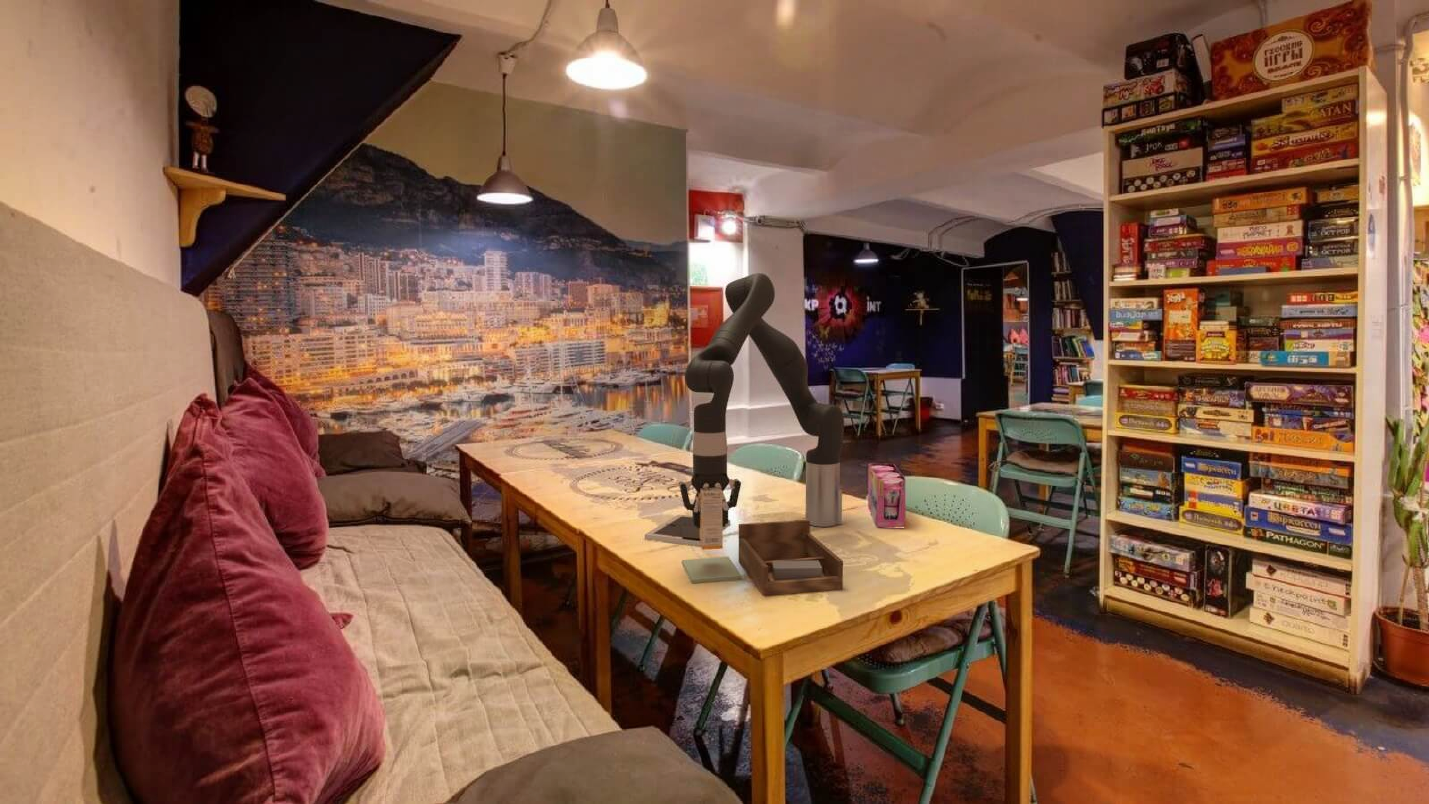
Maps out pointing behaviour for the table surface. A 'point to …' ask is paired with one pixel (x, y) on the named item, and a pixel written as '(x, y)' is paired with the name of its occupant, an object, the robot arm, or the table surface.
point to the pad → (711, 569)
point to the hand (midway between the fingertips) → (710, 526)
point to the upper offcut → (796, 570)
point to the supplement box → (711, 518)
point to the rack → (786, 556)
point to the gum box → (886, 495)
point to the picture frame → (678, 531)
